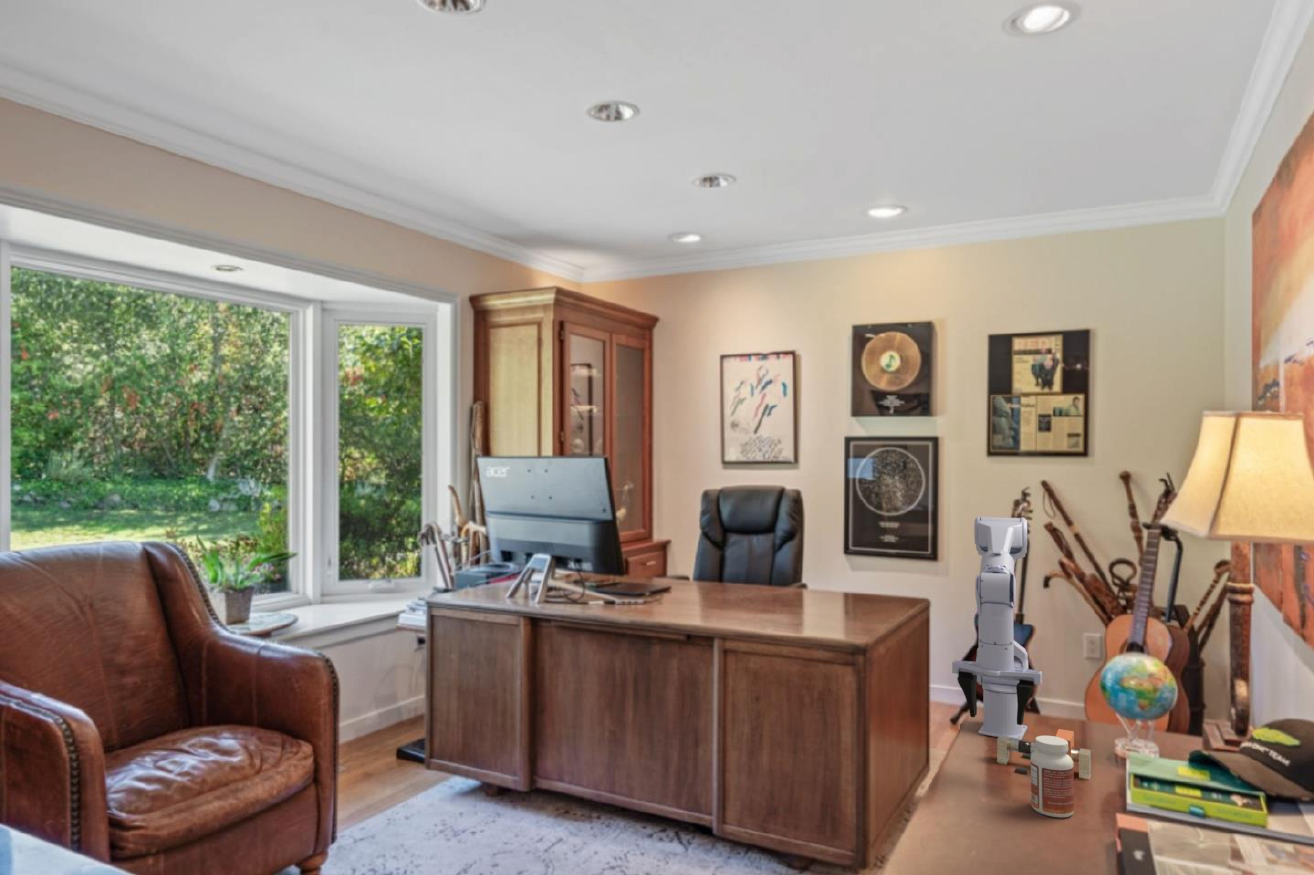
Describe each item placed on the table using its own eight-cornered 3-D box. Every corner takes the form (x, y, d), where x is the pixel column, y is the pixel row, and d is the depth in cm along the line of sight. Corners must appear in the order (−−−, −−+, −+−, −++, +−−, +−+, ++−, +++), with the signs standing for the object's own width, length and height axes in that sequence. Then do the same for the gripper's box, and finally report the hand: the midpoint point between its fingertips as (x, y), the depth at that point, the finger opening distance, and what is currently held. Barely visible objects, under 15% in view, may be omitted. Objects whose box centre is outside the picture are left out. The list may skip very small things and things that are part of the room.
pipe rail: (994, 768, 149) (993, 744, 149) (1003, 752, 157) (1003, 729, 157) (1087, 786, 141) (1087, 760, 141) (1092, 768, 149) (1091, 744, 149)
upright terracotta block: (1055, 775, 145) (1054, 738, 145) (1058, 764, 150) (1058, 728, 150) (1070, 778, 144) (1070, 740, 144) (1074, 767, 149) (1073, 731, 149)
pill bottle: (1082, 813, 130) (1081, 741, 130) (1060, 822, 126) (1059, 749, 127) (1045, 799, 135) (1044, 731, 135) (1022, 808, 132) (1022, 737, 132)
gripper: (947, 640, 146) (948, 718, 145) (1037, 651, 138) (1038, 733, 138) (956, 633, 152) (957, 708, 151) (1043, 643, 144) (1044, 721, 144)
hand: (996, 719), depth 145 cm, fingers open, 7 cm apart
